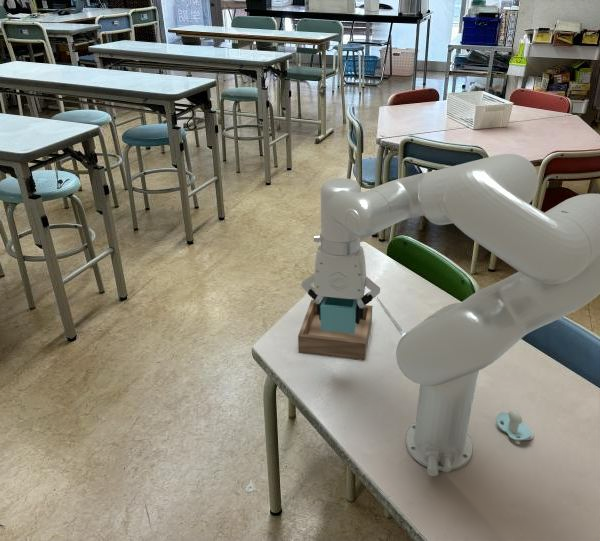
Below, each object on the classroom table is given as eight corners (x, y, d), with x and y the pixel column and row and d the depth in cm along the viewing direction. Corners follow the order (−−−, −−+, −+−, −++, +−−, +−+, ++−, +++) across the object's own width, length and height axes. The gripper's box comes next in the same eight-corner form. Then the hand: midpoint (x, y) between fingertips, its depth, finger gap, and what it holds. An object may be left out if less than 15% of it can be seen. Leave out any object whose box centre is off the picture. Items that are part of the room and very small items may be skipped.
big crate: (364, 360, 129) (365, 343, 127) (298, 352, 132) (298, 335, 130) (371, 321, 143) (372, 305, 140) (311, 315, 146) (311, 299, 143)
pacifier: (512, 415, 113) (490, 424, 111) (518, 392, 110) (496, 401, 108) (540, 439, 107) (518, 449, 105) (547, 415, 104) (524, 426, 102)
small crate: (354, 333, 111) (355, 309, 108) (320, 330, 113) (320, 306, 110) (358, 314, 117) (359, 291, 114) (326, 311, 119) (326, 288, 116)
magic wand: (371, 293, 157) (374, 288, 157) (407, 342, 136) (411, 337, 135) (366, 291, 156) (370, 286, 156) (402, 340, 135) (406, 334, 134)
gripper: (292, 248, 104) (295, 324, 113) (384, 255, 101) (380, 333, 110) (301, 231, 111) (303, 305, 120) (387, 237, 107) (383, 312, 116)
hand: (340, 317), depth 115 cm, fingers closed on small crate, 7 cm apart
